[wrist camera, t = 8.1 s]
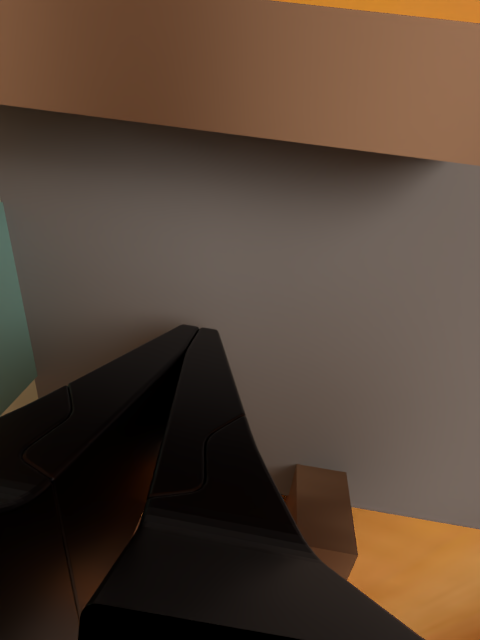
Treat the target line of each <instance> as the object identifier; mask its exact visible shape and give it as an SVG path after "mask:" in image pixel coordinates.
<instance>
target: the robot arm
mask: <svg viewBox="0 0 480 640" xmlns="http://www.w3.org/2000/svg"><path fill="white" fill-rule="evenodd" d="M143 510H144V511H143ZM142 513H143V514H142ZM141 515H142V517H141ZM140 517H141V520H140ZM139 520H140V523H139V525H138V528H137V530H136V532H135V534H134V531H135V529H136V527H137V524H138V522H139ZM133 534H134V535H133ZM132 536H133V537H132ZM0 640H425V639H424V638H422V637H421V636H419V635H418V634H416V633H415V632H414V631H412V630H411V629H410V628H409V627H407V626H406V625H405V624H403V623H402V622H401V621H399V620H398V619H397V618H395V617H394V616H393V615H391V614H390V613H389V612H387V611H386V610H385V609H383V608H382V607H381V606H380V605H378V604H377V603H376V602H374V601H373V600H372V599H370V598H369V597H368V596H366V595H365V594H364V593H362V592H361V591H360V590H358V589H357V588H356V587H354V586H353V585H352V584H351V583H349V582H348V581H347V580H345V579H344V578H343V577H341V576H340V575H339V574H337V573H336V572H335V571H333V570H332V569H331V568H329V567H328V566H327V565H326V564H324V563H323V562H322V561H321V560H320V559H319V558H318V557H317V555H316V554H315V553H314V552H313V550H312V549H311V548H310V547H309V545H308V544H307V542H306V541H305V539H304V537H303V536H302V534H301V532H300V530H299V528H298V527H297V525H296V523H295V521H294V519H293V517H292V515H291V513H290V511H289V509H288V507H287V505H286V504H285V502H284V500H283V498H282V496H281V494H280V492H279V490H278V488H277V486H276V484H275V482H274V481H273V479H272V477H271V475H270V473H269V471H268V469H267V467H266V465H265V463H264V460H263V458H262V456H261V454H260V452H259V450H258V448H257V445H256V442H255V440H254V437H253V434H252V432H251V429H250V426H249V423H248V420H247V417H246V414H245V411H244V408H243V405H242V402H241V399H240V396H239V393H238V390H237V387H236V383H235V380H234V377H233V374H232V371H231V368H230V365H229V362H228V359H227V356H226V353H225V350H224V347H223V344H222V340H221V337H220V334H219V332H218V330H216V329H211V328H204V327H202V328H200V329H199V327H197V326H192V325H186V324H182V325H179V326H177V327H175V328H174V329H172V330H170V331H168V332H166V333H164V334H162V335H160V336H158V337H156V338H154V339H152V340H151V341H149V342H147V343H145V344H143V345H141V346H139V347H137V348H135V349H133V350H131V351H130V352H128V353H126V354H124V355H122V356H120V357H118V358H116V359H114V360H112V361H110V362H109V363H107V364H105V365H103V366H101V367H99V368H97V369H95V370H93V371H91V372H89V373H87V374H86V375H84V376H82V377H80V378H78V379H76V380H74V381H72V382H70V383H69V384H68V386H67V385H64V386H62V387H60V388H59V389H57V390H55V391H53V392H51V393H49V394H47V395H45V396H43V397H41V398H39V399H37V400H35V401H33V402H31V403H29V404H27V405H25V406H23V407H20V408H18V409H16V410H14V411H12V412H9V413H7V414H5V415H3V416H0Z"/></svg>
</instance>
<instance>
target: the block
mask: <svg viewBox="0 0 480 640" xmlns="http://www.w3.org/2000/svg"><path fill="white" fill-rule="evenodd" d="M36 377H37V371H36V366H35V361H34V356H33V351H32V346H31V341H30V336H29V331H28V326H27V321H26V316H25V311H24V306H23V301H22V296H21V291H20V286H19V281H18V276H17V271H16V266H15V261H14V256H13V251H12V246H11V241H10V236H9V231H8V226H7V221H6V216H5V211H4V206H3V202H0V416H1V415H2V413H3V412H4V411H5V410H6V409H7V408H8V407H9V406H10V405H11V404H12V403H13V402H14V401H15V400H16V399H17V397H18V396H19V395H20V394H21V393H22V392H23V391H24V390H25V389H26V388H27V387H28V386H29V385H30V384H31V383H32V381H33V380H34V379H35V378H36Z"/></svg>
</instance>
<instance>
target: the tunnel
mask: <svg viewBox="0 0 480 640" xmlns="http://www.w3.org/2000/svg"><path fill="white" fill-rule="evenodd" d="M0 105H8V106H16V107H24V108H32V109H40V110H47V111H55V112H63V113H71V114H79V115H86V116H94V117H102V118H110V119H118V120H125V121H133V122H141V123H149V124H157V125H165V126H172V127H180V128H188V129H196V130H204V131H211V132H219V133H227V134H235V135H243V136H251V137H258V138H266V139H274V140H282V141H290V142H297V143H305V144H313V145H321V146H329V147H337V148H344V149H352V150H360V151H368V152H376V153H383V154H391V155H399V156H407V157H415V158H423V159H430V160H438V161H446V162H454V163H462V164H469V165H477V166H480V23H471V22H461V21H452V20H443V19H434V18H425V17H416V16H407V15H398V14H389V13H379V12H370V11H361V10H352V9H343V8H334V7H325V6H316V5H306V4H297V3H288V2H279V1H270V0H0ZM285 504H286V505H287V507H288V509H289V511H290V513H291V515H292V517H293V519H294V521H295V523H296V525H297V527H298V528H299V530H300V532H301V534H302V536H303V537H304V539H305V541H306V542H307V544H308V545H309V547H310V548H311V549H312V550H313V552H314V553H315V554H316V555H317V557H318V558H319V559H320V560H321V561H322V562H323V563H324V564H326V565H327V566H328V567H329V568H331V569H332V570H333V571H335V572H336V573H337V574H339V575H340V576H341V577H343V578H344V579H345V580H347V579H348V576H349V574H350V572H351V570H352V567H353V565H354V563H355V561H356V558H357V556H358V553H357V546H356V538H355V531H354V524H353V517H352V510H351V502H350V495H349V488H348V481H347V474H346V472H341V471H335V470H329V469H323V468H318V467H312V466H306V465H300V464H297V465H296V469H295V472H294V476H293V480H292V484H291V488H290V492H289V496H286V500H285ZM140 520H141V517H140ZM140 520H139V522H138V524H137V527H136V529H135V531H134V534H135V532H136V530H137V528H138V525H139V523H140ZM134 534H133V535H134ZM132 537H133V536H132Z"/></svg>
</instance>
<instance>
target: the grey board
mask: <svg viewBox="0 0 480 640" xmlns="http://www.w3.org/2000/svg"><path fill="white" fill-rule="evenodd" d="M0 202H3V206H4V211H5V216H6V221H7V226H8V231H9V236H10V241H11V246H12V251H13V256H14V261H15V266H16V271H17V276H18V281H19V286H20V291H21V296H22V301H23V306H24V311H25V316H26V321H27V326H28V331H29V336H30V341H31V346H32V351H33V356H34V361H35V366H36V371H37V377H36V378H35V379H34V380H33V381H32V383H31V384H30V385H29V386H28V387H27V388H26V389H25V390H24V391H23V392H22V393H21V394H20V395H19V396H18V397H17V399H16V400H15V401H14V402H13V403H12V404H11V405H10V406H9V407H8V408H7V409H6V410H5V411H4V412H3V413H2V415H1V416H3V415H5V414H7V413H9V412H12V411H14V410H16V409H18V408H20V407H23V406H25V405H27V404H29V403H31V402H33V401H35V400H37V399H39V398H41V397H43V396H45V395H47V394H49V393H51V392H53V391H55V390H57V389H59V388H60V387H62V386H64V385H67V386H68V384H69V383H70V382H72V381H74V380H76V379H78V378H80V377H82V376H84V375H86V374H87V373H89V372H91V371H93V370H95V369H97V368H99V367H101V366H103V365H105V364H107V363H109V362H110V361H112V360H114V359H116V358H118V357H120V356H122V355H124V354H126V353H128V352H130V351H131V350H133V349H135V348H137V347H139V346H141V345H143V344H145V343H147V342H149V341H151V340H152V339H154V338H156V337H158V336H160V335H162V334H164V333H166V332H168V331H170V330H172V329H174V328H175V327H177V326H179V325H182V324H186V325H192V326H197V327H199V329H200V328H202V327H204V328H211V329H216V330H218V332H219V334H220V337H221V340H222V344H223V347H224V350H225V353H226V356H227V359H228V362H229V365H230V368H231V371H232V374H233V377H234V380H235V383H236V387H237V390H238V393H239V396H240V399H241V402H242V405H243V408H244V411H245V414H246V417H247V420H248V423H249V426H250V429H251V432H252V434H253V437H254V440H255V442H256V445H257V448H258V450H259V452H260V454H261V456H262V458H263V460H264V463H265V465H266V467H267V469H268V471H269V473H270V475H271V477H272V479H273V481H274V482H275V484H276V486H277V488H278V490H279V492H280V494H281V495H286V496H289V492H290V488H291V484H292V480H293V476H294V472H295V469H296V465H297V464H300V465H306V466H312V467H318V468H323V469H329V470H335V471H341V472H346V474H347V481H348V488H349V495H350V502H351V507H355V508H361V509H366V510H372V511H378V512H384V513H389V514H395V515H401V516H407V517H412V518H418V519H424V520H429V521H435V522H441V523H447V524H452V525H458V526H464V527H470V528H475V529H480V166H477V165H469V164H462V163H454V162H446V161H438V160H430V159H423V158H415V157H407V156H399V155H391V154H383V153H376V152H368V151H360V150H352V149H344V148H337V147H329V146H321V145H313V144H305V143H297V142H290V141H282V140H274V139H266V138H258V137H251V136H243V135H235V134H227V133H219V132H211V131H204V130H196V129H188V128H180V127H172V126H165V125H157V124H149V123H141V122H133V121H125V120H118V119H110V118H102V117H94V116H86V115H79V114H71V113H63V112H55V111H47V110H40V109H32V108H24V107H16V106H8V105H0Z"/></svg>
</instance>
